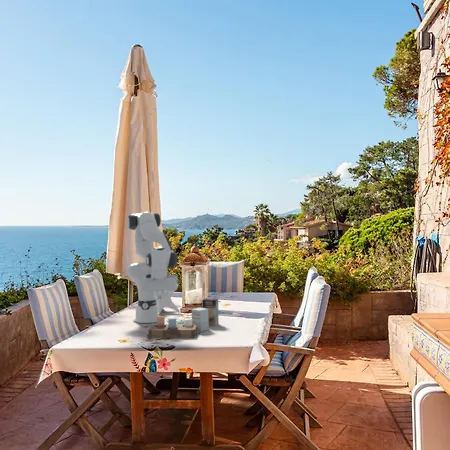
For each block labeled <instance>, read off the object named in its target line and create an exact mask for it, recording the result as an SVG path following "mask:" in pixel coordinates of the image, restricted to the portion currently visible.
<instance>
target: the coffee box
mask: <svg viewBox="0 0 450 450" xmlns="http://www.w3.org/2000/svg"><path fill="white" fill-rule="evenodd" d="M201 304H202V306H201V308H207V309H208V321H209V327H216V326H218V325H219V323H220V322H219V321H220V320H219V319H220V318H219V316H220V315H219V299H218V298H204V299H202V303H201Z"/></svg>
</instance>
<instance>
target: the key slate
mask: <svg viewBox="0 0 450 450" xmlns="http://www.w3.org/2000/svg"><path fill="white" fill-rule="evenodd" d="M167 323H168V324H167V325H168V330H177V325H178V324H177V318H176V317H172V318H171V317H170V318H167Z"/></svg>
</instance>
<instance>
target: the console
mask: <svg viewBox="0 0 450 450" xmlns="http://www.w3.org/2000/svg"><path fill="white" fill-rule="evenodd" d="M147 332H148V334H147V335H148V339H195V338H196V336H197V334H198V332H199V331H198V324H192V327H184V324H177V330H168V324H165V327H157V324H153V325H152V326H151V327H150V328H149V329H148V331H147Z"/></svg>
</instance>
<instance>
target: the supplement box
mask: <svg viewBox="0 0 450 450" xmlns="http://www.w3.org/2000/svg"><path fill="white" fill-rule="evenodd" d="M191 319H192V324H198V332H199V333H200V332H203V331H208V330H210V329H209V327H210V326H209V321H208V309H207V308H202V307H196V308H192V309H191Z"/></svg>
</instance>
